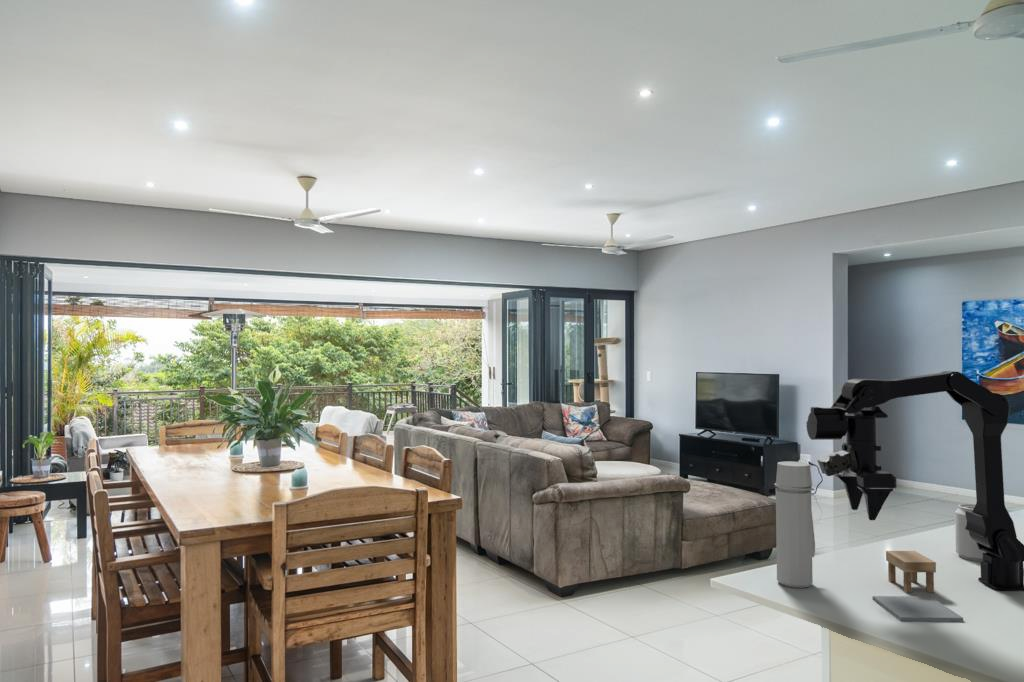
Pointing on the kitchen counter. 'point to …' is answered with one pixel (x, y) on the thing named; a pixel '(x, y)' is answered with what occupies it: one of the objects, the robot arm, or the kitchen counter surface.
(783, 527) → the water bottle
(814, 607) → the kitchen counter surface
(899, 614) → the gray panel
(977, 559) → the can
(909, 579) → the stool
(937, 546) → the kitchen counter surface
